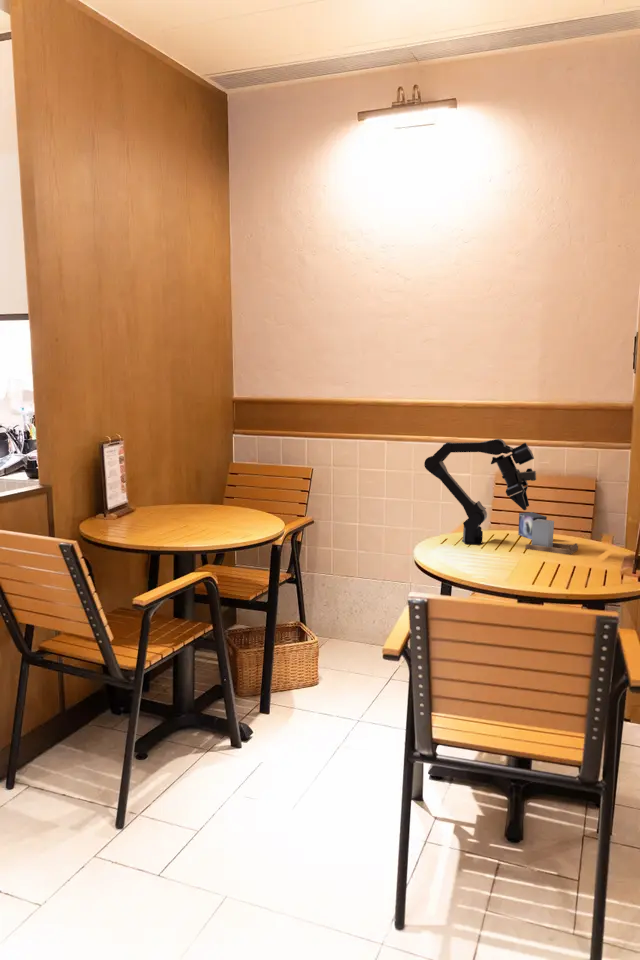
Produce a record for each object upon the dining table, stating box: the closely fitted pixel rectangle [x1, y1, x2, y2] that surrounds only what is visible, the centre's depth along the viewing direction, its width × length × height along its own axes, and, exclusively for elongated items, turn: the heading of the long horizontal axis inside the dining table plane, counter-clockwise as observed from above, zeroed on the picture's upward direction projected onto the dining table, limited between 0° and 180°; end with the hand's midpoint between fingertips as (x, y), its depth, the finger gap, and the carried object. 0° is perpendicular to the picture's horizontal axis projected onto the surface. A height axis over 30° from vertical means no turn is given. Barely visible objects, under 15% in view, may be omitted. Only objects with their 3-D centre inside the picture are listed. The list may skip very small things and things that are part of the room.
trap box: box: [524, 542, 579, 556], centre depth 281 cm, size 16×10×4 cm, turn 57°
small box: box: [518, 511, 548, 540], centre depth 304 cm, size 11×6×10 cm, turn 17°
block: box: [530, 519, 555, 547], centre depth 282 cm, size 6×6×10 cm
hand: (526, 508), depth 289 cm, fingers open, 9 cm apart
